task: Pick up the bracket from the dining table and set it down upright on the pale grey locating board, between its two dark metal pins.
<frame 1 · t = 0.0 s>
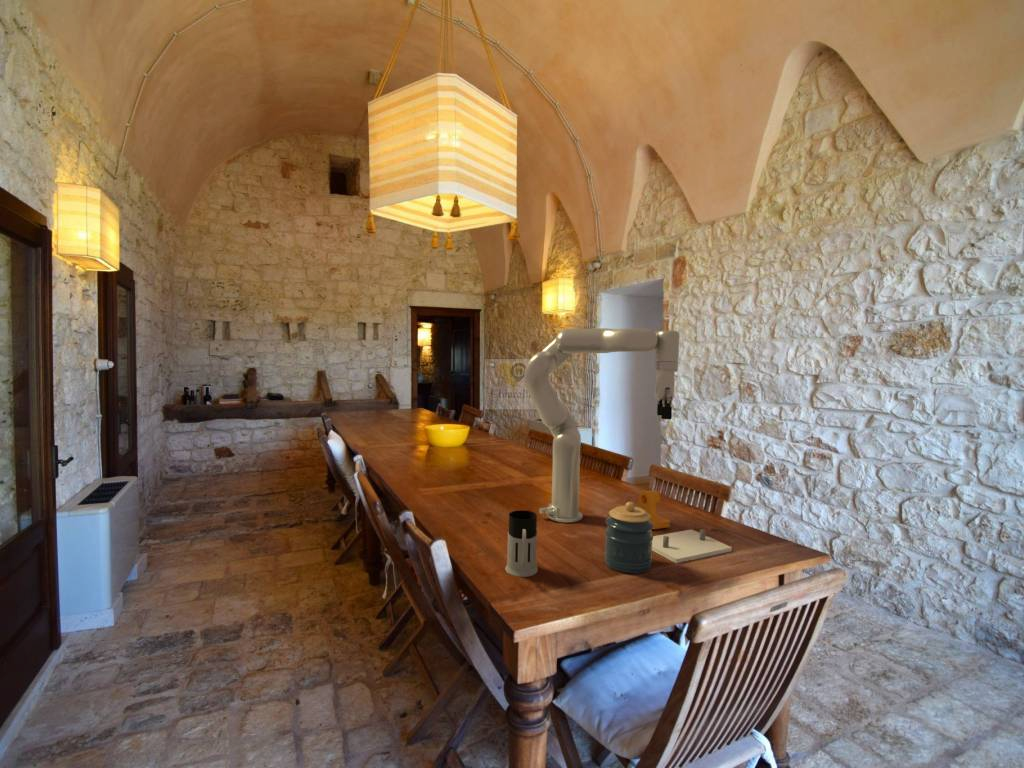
hand: (664, 417, 167), 37 cm above the table, tool pointing down, fingers open, 9 cm apart
locating board: (684, 546, 150), on the table
bracket: (651, 525, 168), on the table
canister: (627, 564, 137), on the table
glass holder: (522, 574, 129), on the table
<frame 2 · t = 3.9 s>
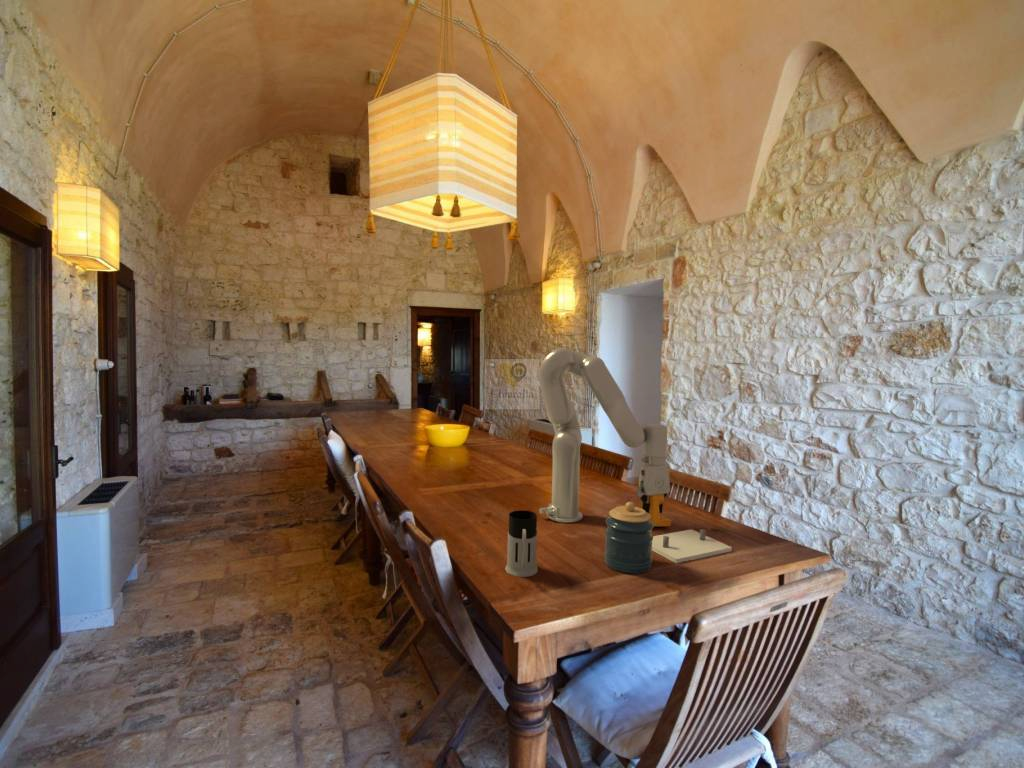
hand: (652, 512, 168), 4 cm above the table, tool pointing down, fingers closed on bracket, 4 cm apart
bracket: (652, 523, 168), on the table, touching gripper
everything else where it was.
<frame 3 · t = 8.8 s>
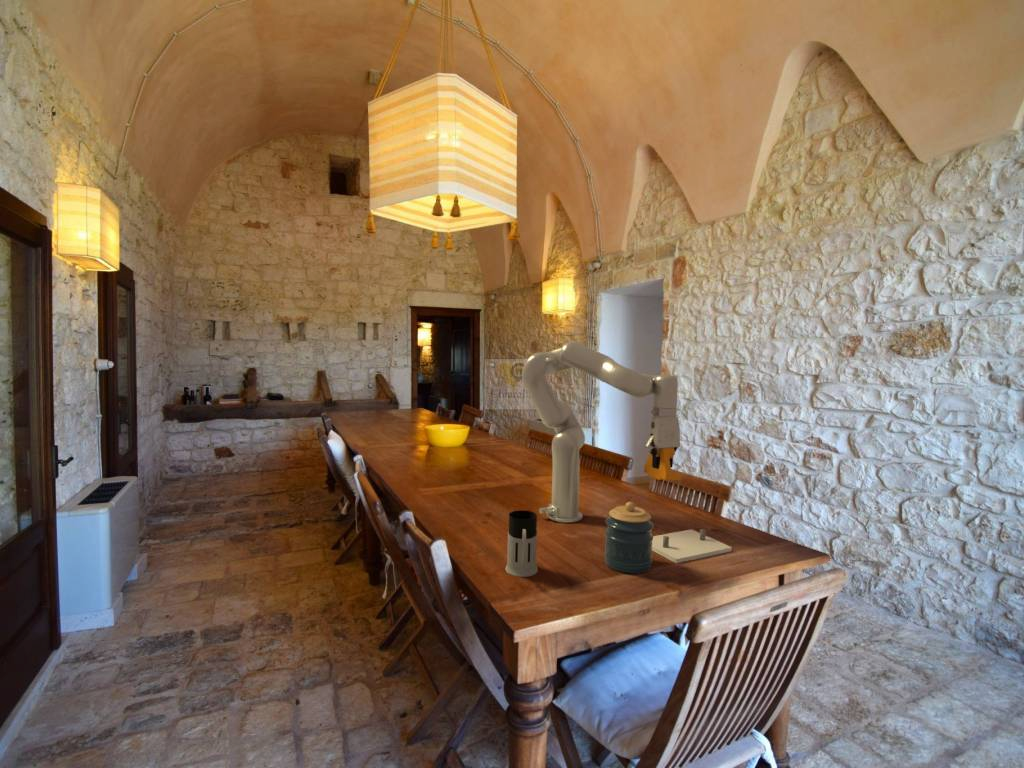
hand: (662, 466, 162), 21 cm above the table, tool pointing down, fingers closed on bracket, 4 cm apart
bracket: (662, 479, 163), point 17 cm above the table, touching gripper
everything else where it was.
when the fingers open (7 cm above the table, at t = 14.2 s): bracket drops 2 cm, resting on locating board.
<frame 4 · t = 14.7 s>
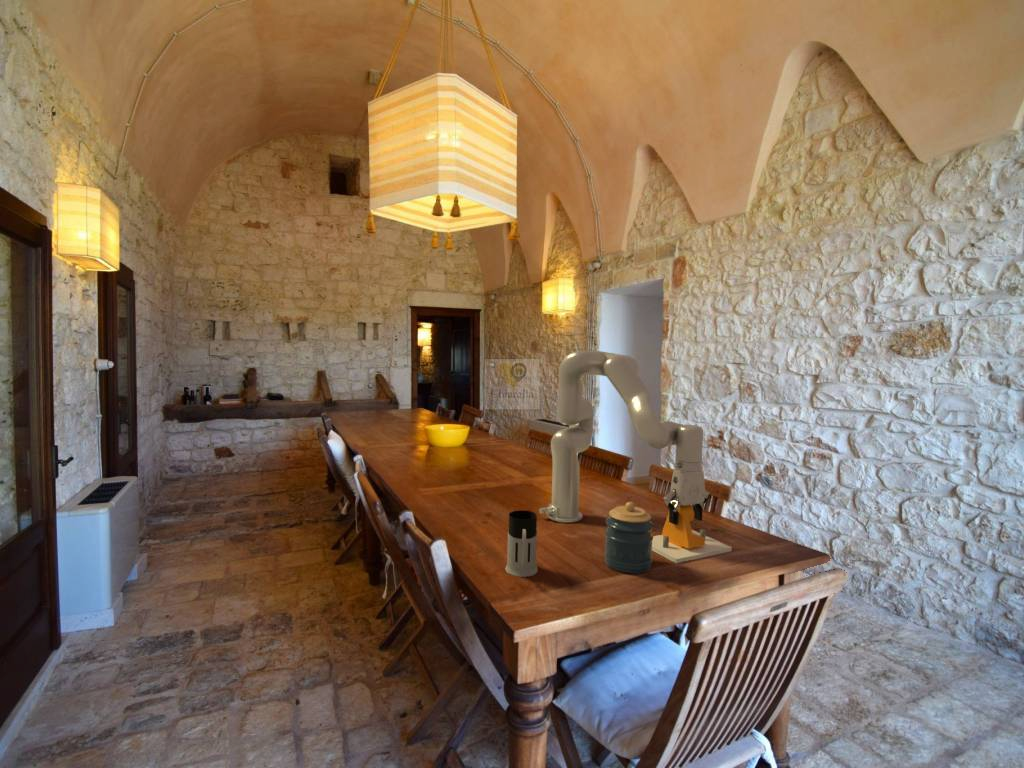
hand: (685, 521, 149), 8 cm above the table, tool pointing down, fingers open, 9 cm apart
bracket: (683, 543, 150), point 1 cm above the table, touching locating board
everything else where it was.
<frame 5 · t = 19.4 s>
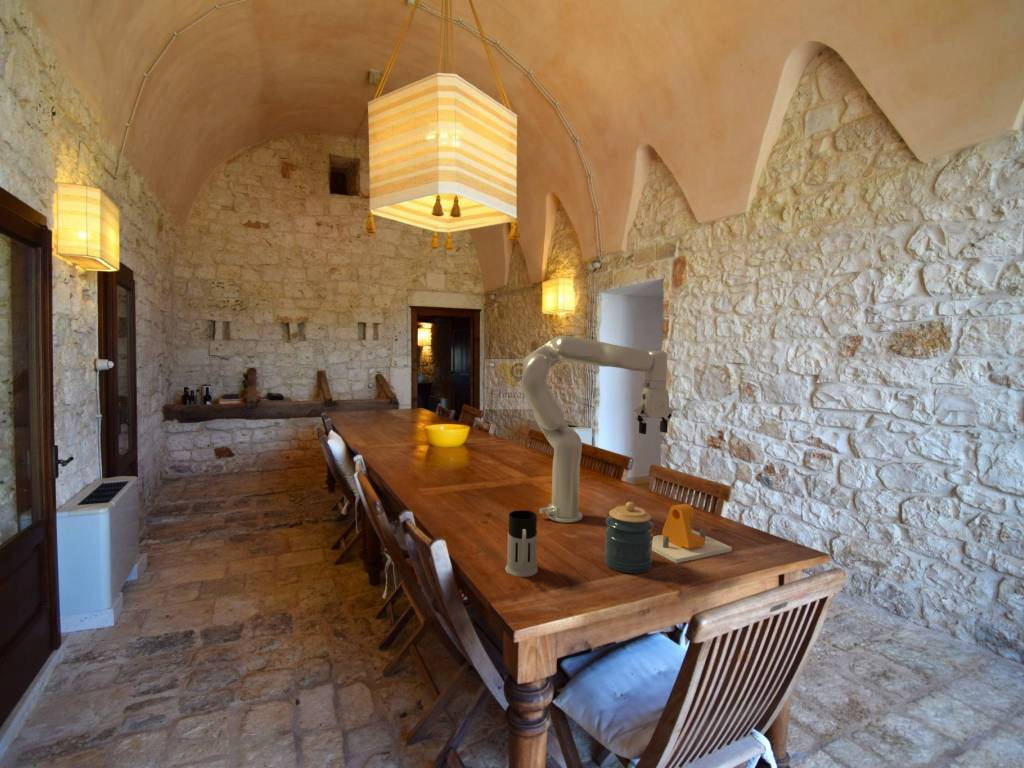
hand: (653, 432, 176), 30 cm above the table, tool pointing down, fingers open, 9 cm apart
nothing on the table moved.
at the end: bracket 0.3 cm off-centre on the locating board, point 1.0 cm above the locating board's base; bracket tilted 0°; the gripper is holding nothing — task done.
